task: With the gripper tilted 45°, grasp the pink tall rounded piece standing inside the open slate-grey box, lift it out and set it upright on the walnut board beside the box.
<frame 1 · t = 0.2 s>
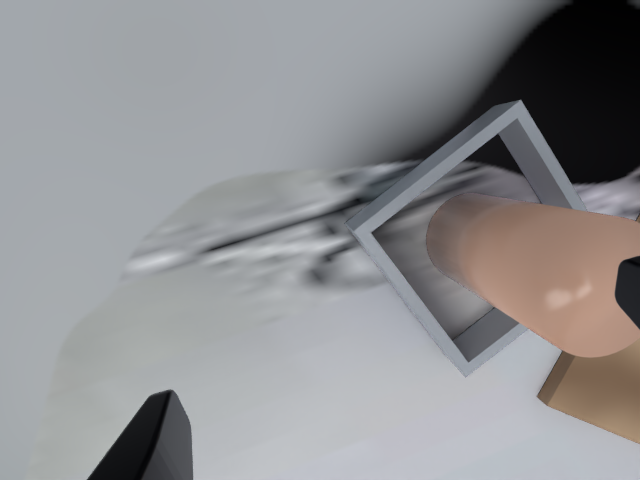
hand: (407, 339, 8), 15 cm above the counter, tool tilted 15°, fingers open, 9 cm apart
pink tall rounded piece: (519, 256, 20), in the grey box
grey box: (469, 237, 25), on the counter
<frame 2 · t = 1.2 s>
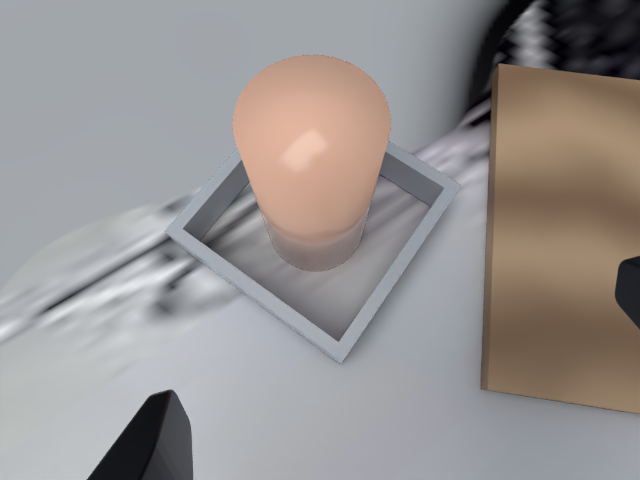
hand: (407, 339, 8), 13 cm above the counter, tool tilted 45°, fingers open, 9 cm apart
pink tall rounded piece: (314, 186, 19), in the grey box
walnut board: (620, 232, 23), on the counter
grey box: (315, 225, 23), on the counter
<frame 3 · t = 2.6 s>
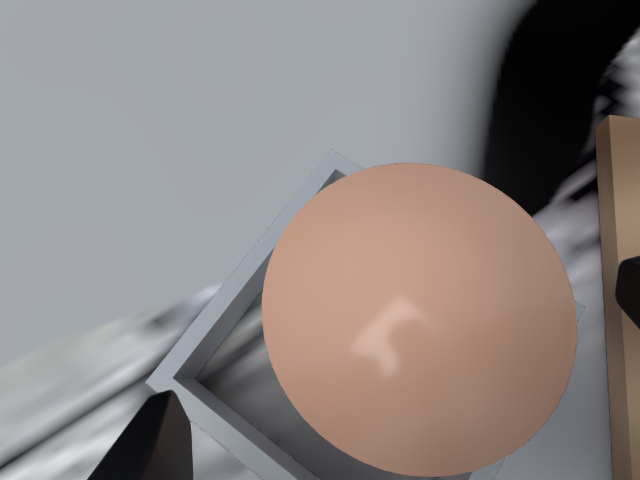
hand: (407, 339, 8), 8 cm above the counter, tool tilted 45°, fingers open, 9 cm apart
pink tall rounded piece: (379, 335, 12), in the grey box
grey box: (363, 349, 16), on the counter
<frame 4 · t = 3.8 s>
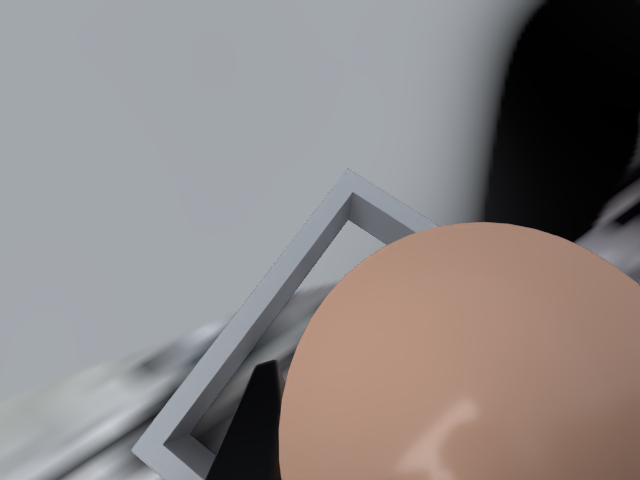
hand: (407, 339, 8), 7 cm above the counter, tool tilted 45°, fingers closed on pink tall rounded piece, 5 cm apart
pink tall rounded piece: (414, 407, 10), in the grey box, touching gripper
grey box: (384, 399, 14), on the counter
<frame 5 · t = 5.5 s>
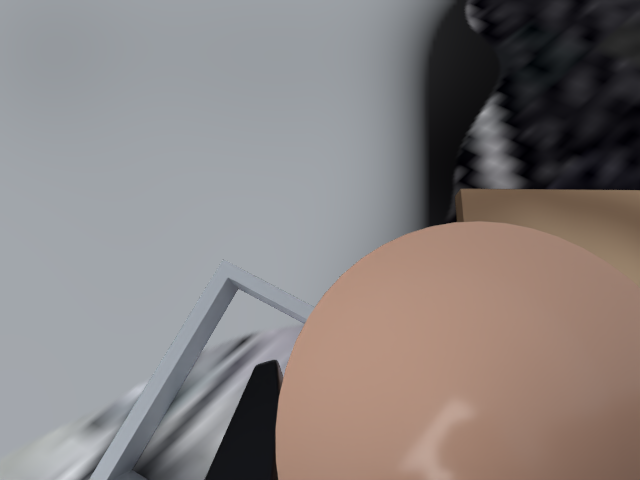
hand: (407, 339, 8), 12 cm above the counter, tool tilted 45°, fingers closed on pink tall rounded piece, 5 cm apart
pink tall rounded piece: (412, 407, 10), point 11 cm above the counter, touching gripper
walnut board: (624, 379, 20), on the counter
grey box: (273, 422, 20), on the counter
when the fingers open (9 cm above the counter, at t = 7.5 s): pink tall rounded piece drops 1 cm, resting on walnut board.
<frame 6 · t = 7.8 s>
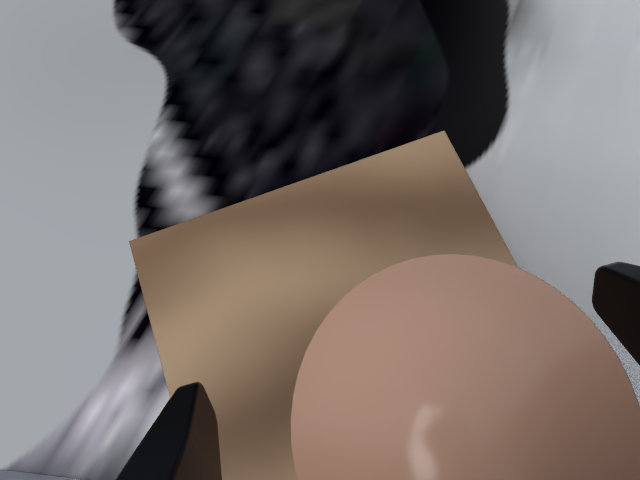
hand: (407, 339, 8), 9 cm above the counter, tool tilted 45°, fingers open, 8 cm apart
pink tall rounded piece: (403, 405, 11), on the walnut board, point 6 cm above the counter
walnut board: (375, 396, 17), on the counter
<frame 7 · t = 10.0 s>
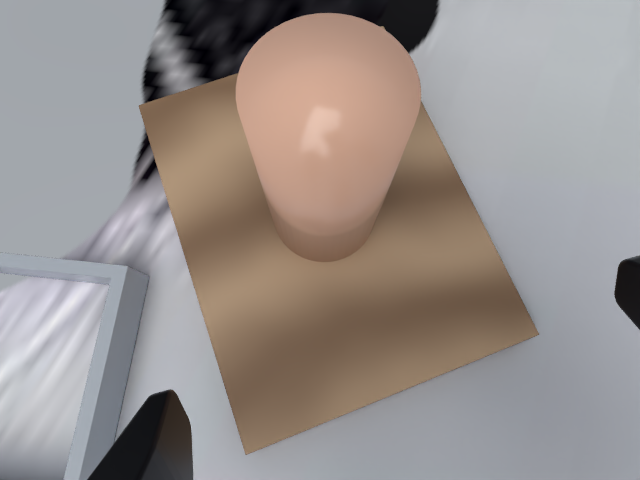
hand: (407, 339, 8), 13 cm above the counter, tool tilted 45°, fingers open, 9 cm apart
pink tall rounded piece: (325, 168, 17), on the walnut board, point 6 cm above the counter
walnut board: (323, 217, 22), on the counter
grey box: (19, 372, 20), on the counter
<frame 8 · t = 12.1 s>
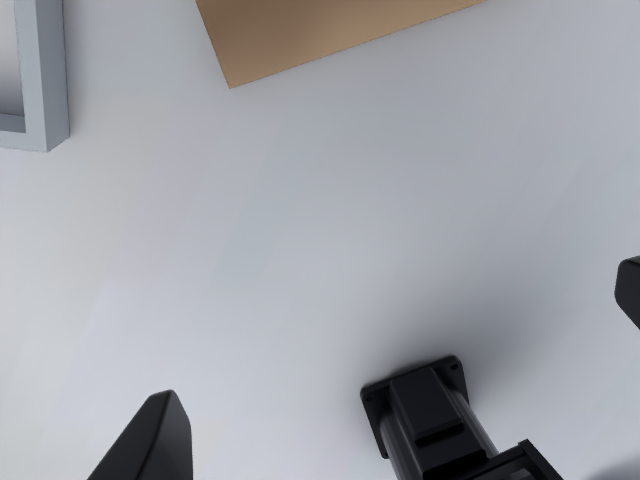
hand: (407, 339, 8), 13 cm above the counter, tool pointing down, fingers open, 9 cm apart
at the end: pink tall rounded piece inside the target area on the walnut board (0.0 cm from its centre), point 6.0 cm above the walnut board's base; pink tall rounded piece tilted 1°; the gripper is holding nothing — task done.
